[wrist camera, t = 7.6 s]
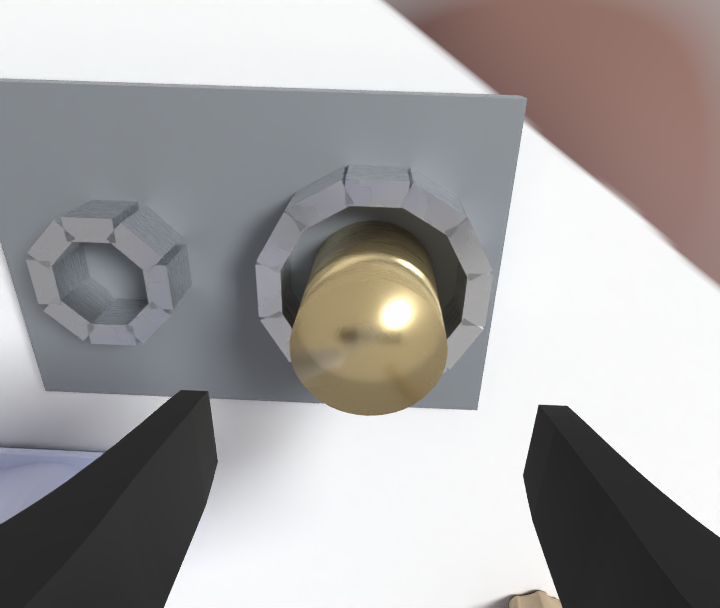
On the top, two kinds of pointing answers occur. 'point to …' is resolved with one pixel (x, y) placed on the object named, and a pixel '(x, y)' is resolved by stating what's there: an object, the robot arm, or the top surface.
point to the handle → (535, 601)
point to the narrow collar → (90, 299)
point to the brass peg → (370, 322)
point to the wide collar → (376, 191)
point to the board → (235, 212)
